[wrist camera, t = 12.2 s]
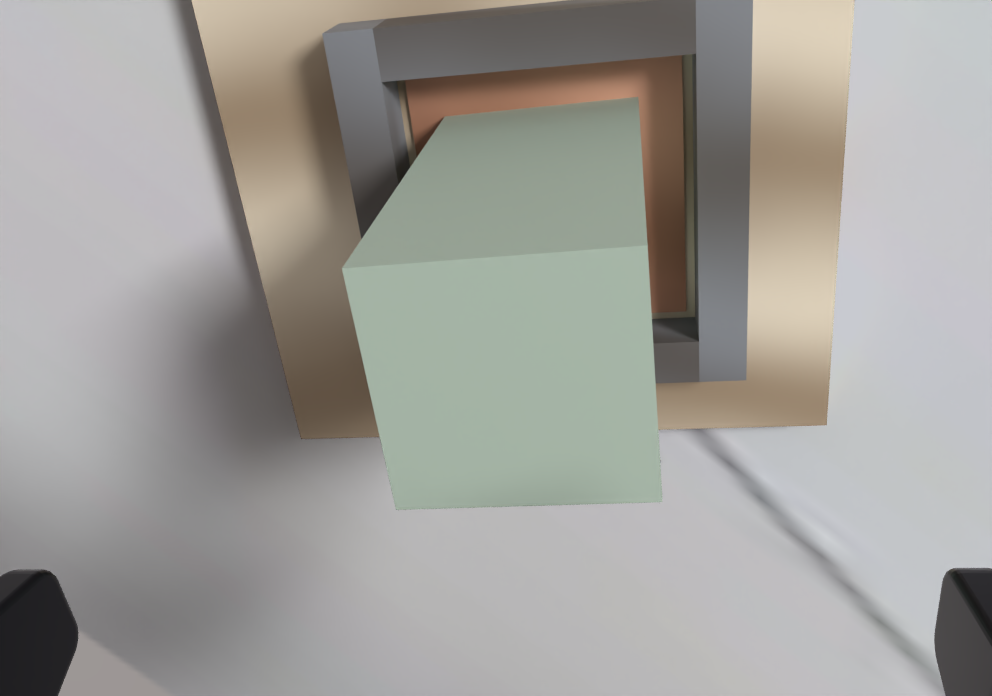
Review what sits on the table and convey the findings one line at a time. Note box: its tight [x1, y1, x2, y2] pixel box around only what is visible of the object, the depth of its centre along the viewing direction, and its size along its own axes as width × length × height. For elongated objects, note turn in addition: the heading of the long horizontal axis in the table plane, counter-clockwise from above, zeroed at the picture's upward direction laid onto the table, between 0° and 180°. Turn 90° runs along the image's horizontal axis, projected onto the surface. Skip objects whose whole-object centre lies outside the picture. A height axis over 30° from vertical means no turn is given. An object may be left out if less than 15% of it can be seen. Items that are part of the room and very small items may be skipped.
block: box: [342, 97, 662, 510], centre depth 16 cm, size 4×4×8 cm
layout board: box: [191, 0, 855, 439], centre depth 19 cm, size 15×13×2 cm
